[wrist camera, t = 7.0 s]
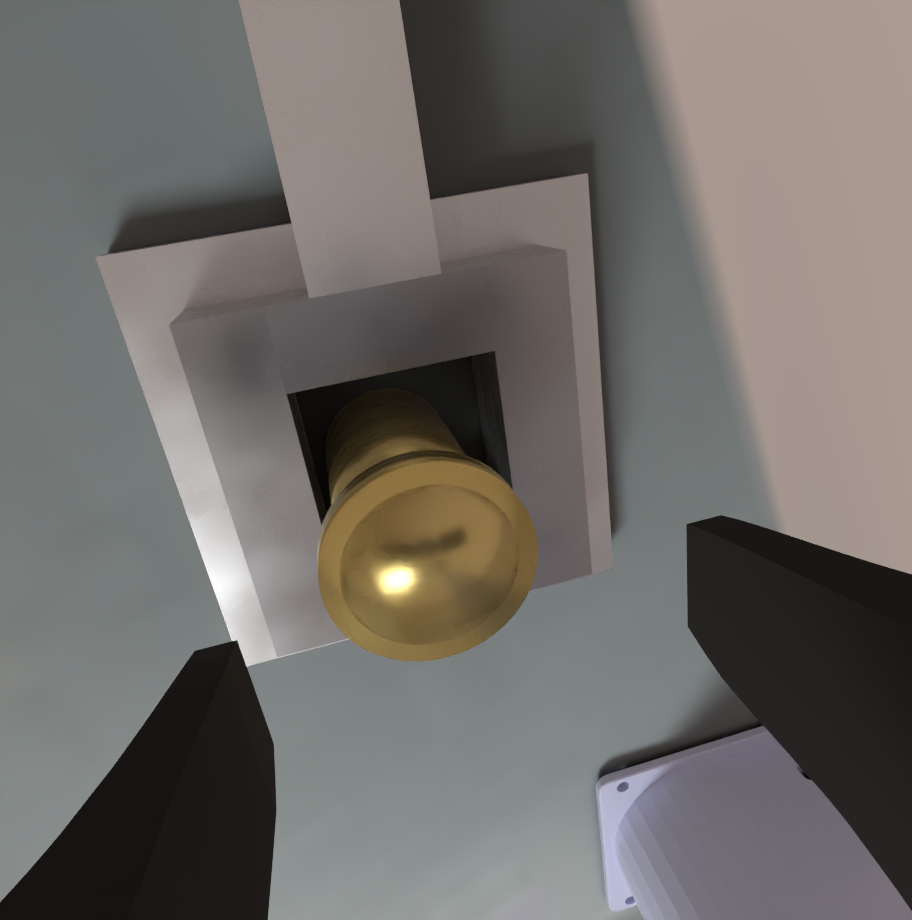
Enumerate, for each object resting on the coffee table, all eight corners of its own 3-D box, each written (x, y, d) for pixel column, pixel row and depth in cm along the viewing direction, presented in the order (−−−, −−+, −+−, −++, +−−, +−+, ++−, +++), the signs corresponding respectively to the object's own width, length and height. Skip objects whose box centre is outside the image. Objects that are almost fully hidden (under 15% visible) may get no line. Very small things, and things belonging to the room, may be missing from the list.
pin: (452, 363, 19) (531, 445, 13) (467, 500, 21) (544, 634, 14) (296, 388, 18) (297, 489, 12) (326, 528, 20) (340, 682, 14)
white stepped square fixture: (528, -450, 13) (588, -618, 10) (600, 554, 22) (642, 603, 20) (-133, -434, 11) (-268, -632, 9) (244, 647, 21) (236, 715, 18)
